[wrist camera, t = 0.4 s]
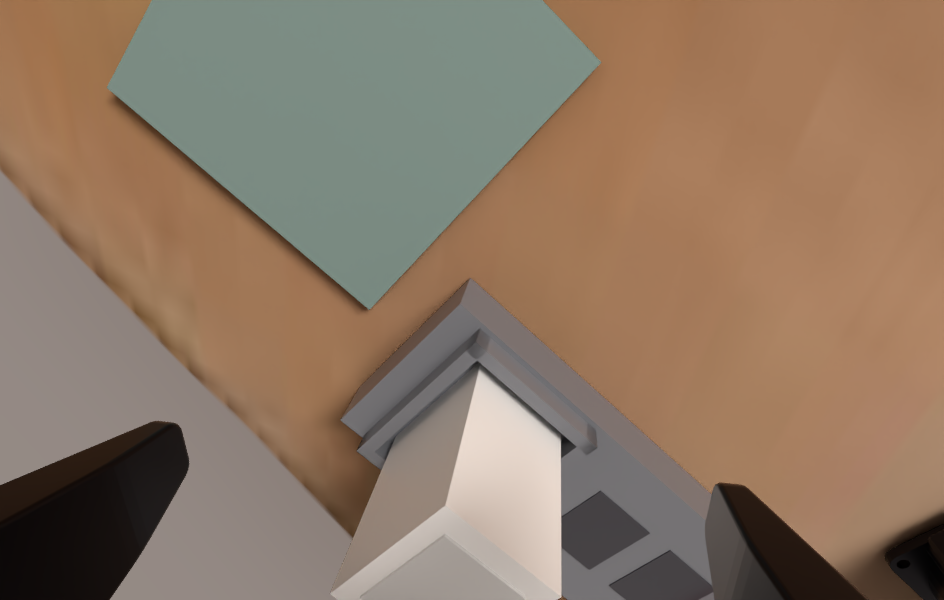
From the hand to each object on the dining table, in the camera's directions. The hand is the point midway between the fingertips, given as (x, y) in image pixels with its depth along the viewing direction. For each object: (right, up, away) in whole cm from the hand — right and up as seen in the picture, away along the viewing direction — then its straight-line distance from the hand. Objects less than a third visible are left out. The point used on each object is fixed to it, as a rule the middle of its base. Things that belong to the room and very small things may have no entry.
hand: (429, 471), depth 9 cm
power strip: (+5, -4, +15) cm, 16 cm away
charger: (+1, -2, +12) cm, 12 cm away
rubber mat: (-4, +10, +10) cm, 15 cm away
